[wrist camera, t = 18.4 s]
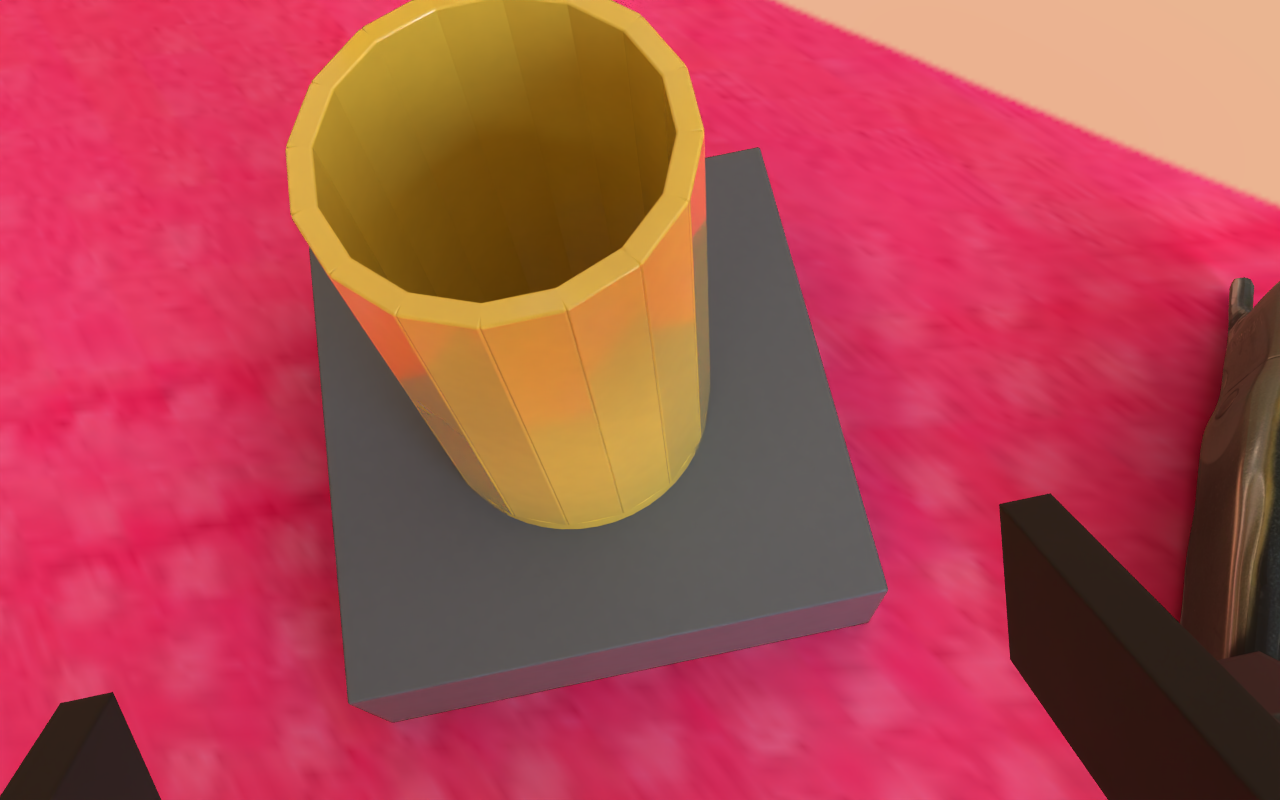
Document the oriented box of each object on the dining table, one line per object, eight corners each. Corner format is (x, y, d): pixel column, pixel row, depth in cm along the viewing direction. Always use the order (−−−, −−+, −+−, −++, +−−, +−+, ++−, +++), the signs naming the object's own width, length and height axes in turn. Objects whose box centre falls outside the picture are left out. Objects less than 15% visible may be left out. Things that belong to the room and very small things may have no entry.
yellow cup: (461, 555, 29) (301, 366, 18) (428, 313, 32) (274, 20, 21) (735, 498, 29) (743, 274, 18) (677, 261, 32) (655, -56, 21)
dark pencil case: (1372, 783, 25) (1396, 217, 30) (1231, 746, 25) (1278, 196, 30) (1269, 790, 29) (1305, 299, 34) (1153, 759, 30) (1205, 280, 35)
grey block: (391, 723, 31) (347, 704, 28) (348, 300, 37) (307, 238, 33) (869, 622, 31) (888, 590, 28) (755, 217, 37) (759, 145, 33)
